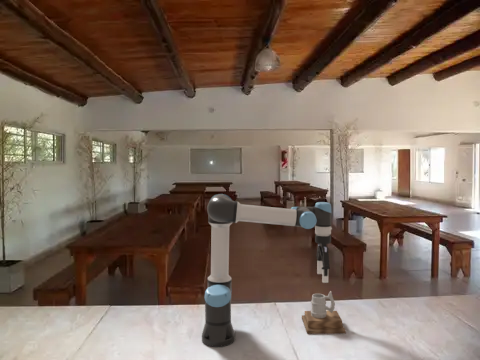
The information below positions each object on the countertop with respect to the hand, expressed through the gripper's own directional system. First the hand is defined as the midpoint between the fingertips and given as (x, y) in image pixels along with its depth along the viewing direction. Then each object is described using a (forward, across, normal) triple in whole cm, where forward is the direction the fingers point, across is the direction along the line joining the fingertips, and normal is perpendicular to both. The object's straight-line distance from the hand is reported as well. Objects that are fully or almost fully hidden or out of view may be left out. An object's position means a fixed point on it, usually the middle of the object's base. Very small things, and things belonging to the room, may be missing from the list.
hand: (322, 278), depth 201 cm
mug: (+19, 0, 0) cm, 19 cm away
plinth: (+24, 0, 0) cm, 24 cm away
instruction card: (+24, +16, -6) cm, 29 cm away
